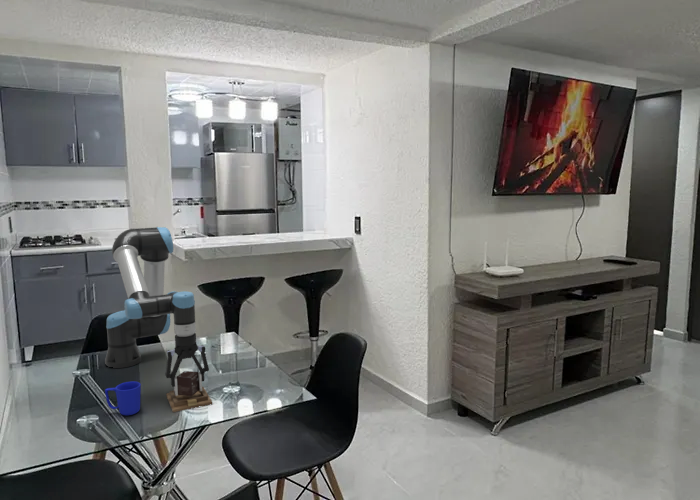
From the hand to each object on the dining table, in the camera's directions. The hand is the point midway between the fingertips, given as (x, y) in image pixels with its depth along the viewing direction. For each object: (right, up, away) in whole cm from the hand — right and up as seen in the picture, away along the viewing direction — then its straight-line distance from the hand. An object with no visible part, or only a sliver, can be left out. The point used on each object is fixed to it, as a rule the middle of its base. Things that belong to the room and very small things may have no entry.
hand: (188, 391), depth 195 cm
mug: (-20, -5, -10) cm, 23 cm away
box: (0, -1, 0) cm, 1 cm away
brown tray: (0, -3, 0) cm, 3 cm away
